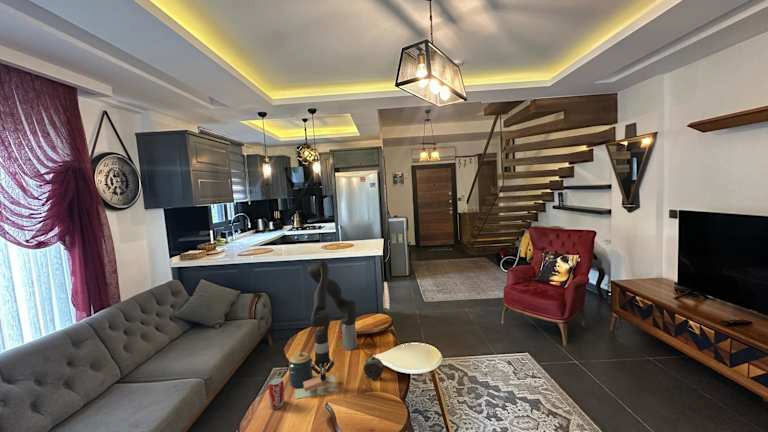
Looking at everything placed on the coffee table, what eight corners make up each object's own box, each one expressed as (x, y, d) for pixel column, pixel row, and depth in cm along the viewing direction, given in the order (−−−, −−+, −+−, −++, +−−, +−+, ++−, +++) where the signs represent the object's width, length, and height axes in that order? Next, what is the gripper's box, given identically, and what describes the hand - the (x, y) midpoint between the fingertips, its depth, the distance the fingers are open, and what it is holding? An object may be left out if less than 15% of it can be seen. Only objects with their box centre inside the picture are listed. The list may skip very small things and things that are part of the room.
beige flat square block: (335, 381, 180) (335, 374, 180) (338, 391, 170) (337, 384, 170) (315, 385, 177) (315, 378, 177) (317, 396, 167) (316, 388, 167)
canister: (292, 391, 172) (290, 360, 171) (287, 379, 183) (286, 349, 182) (315, 384, 178) (314, 353, 177) (309, 372, 189) (308, 344, 188)
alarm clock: (384, 377, 182) (383, 350, 181) (382, 383, 177) (381, 355, 176) (365, 375, 185) (364, 348, 183) (363, 381, 179) (362, 353, 178)
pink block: (320, 379, 175) (319, 375, 175) (322, 385, 169) (321, 381, 169) (303, 385, 172) (302, 382, 172) (305, 391, 166) (304, 388, 166)
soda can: (271, 401, 164) (270, 377, 163) (285, 399, 165) (284, 375, 164) (267, 410, 157) (266, 385, 156) (282, 409, 158) (281, 384, 157)
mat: (315, 386, 176) (315, 385, 176) (317, 394, 168) (317, 394, 168) (295, 390, 173) (295, 389, 173) (295, 399, 165) (295, 398, 165)
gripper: (333, 344, 177) (334, 374, 178) (308, 348, 173) (310, 378, 174) (335, 350, 170) (336, 381, 171) (309, 354, 166) (311, 386, 167)
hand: (323, 380), depth 173 cm, fingers closed
